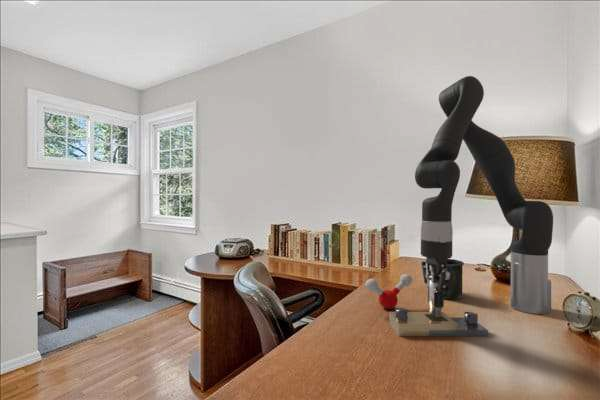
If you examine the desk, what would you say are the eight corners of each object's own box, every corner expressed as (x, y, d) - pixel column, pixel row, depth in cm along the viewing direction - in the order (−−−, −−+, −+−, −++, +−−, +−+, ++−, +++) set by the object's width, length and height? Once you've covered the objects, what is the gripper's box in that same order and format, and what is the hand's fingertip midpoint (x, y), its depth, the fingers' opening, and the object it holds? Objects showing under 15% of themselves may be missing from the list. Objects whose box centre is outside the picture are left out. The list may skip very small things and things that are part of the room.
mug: (423, 295, 108) (423, 260, 108) (442, 287, 118) (442, 255, 118) (455, 303, 100) (455, 266, 100) (472, 294, 110) (473, 260, 109)
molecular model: (376, 317, 87) (376, 282, 87) (361, 311, 92) (361, 278, 92) (414, 305, 97) (414, 274, 97) (399, 300, 102) (399, 270, 102)
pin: (425, 312, 82) (425, 274, 82) (438, 312, 82) (439, 274, 82) (431, 317, 78) (431, 278, 78) (445, 317, 78) (445, 278, 78)
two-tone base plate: (470, 323, 84) (470, 304, 84) (488, 336, 76) (488, 315, 76) (389, 322, 84) (389, 304, 84) (398, 335, 76) (398, 315, 76)
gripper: (412, 234, 87) (411, 296, 87) (433, 242, 73) (432, 315, 73) (438, 235, 87) (438, 296, 87) (465, 242, 73) (464, 315, 73)
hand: (435, 304), depth 80 cm, fingers closed on pin, 3 cm apart
